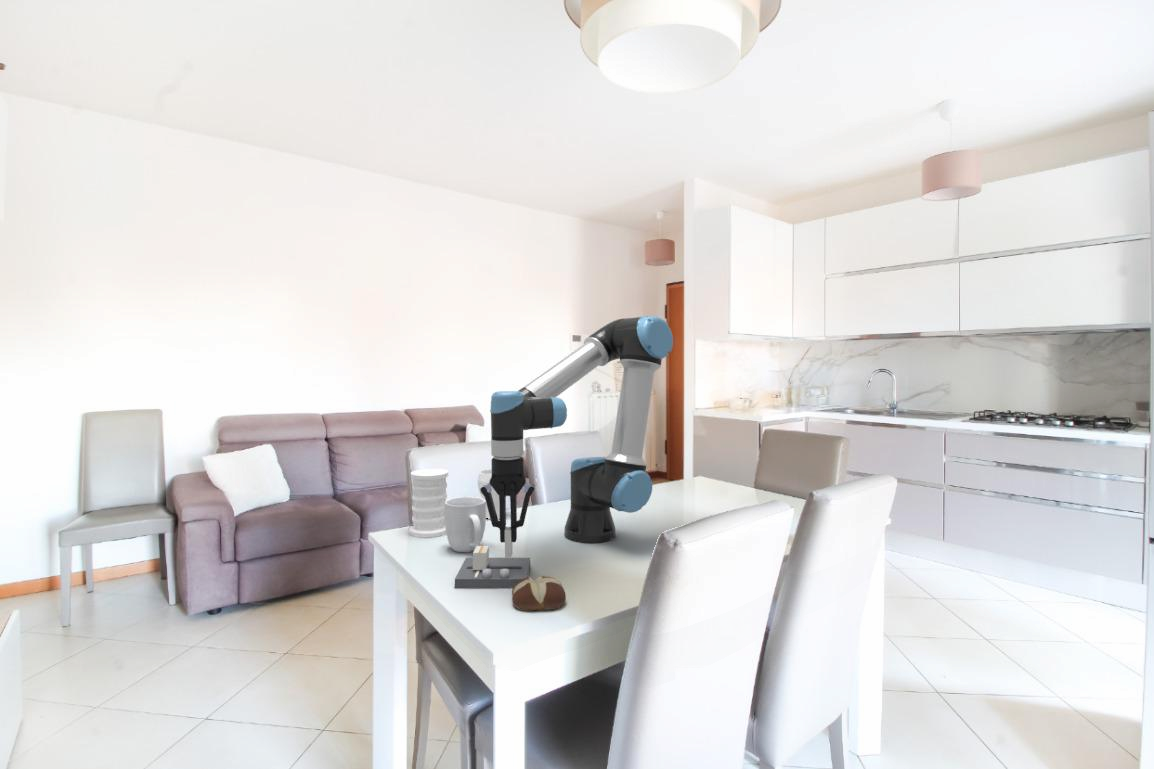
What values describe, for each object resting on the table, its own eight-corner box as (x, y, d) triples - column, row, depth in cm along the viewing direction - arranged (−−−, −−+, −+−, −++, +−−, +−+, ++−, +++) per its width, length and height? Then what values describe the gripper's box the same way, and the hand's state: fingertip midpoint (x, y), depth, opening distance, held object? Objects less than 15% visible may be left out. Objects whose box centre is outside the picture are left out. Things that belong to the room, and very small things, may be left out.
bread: (566, 612, 112) (566, 588, 112) (510, 613, 112) (510, 589, 111) (563, 590, 124) (564, 568, 123) (512, 591, 123) (512, 569, 123)
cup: (473, 520, 178) (473, 473, 178) (483, 511, 189) (484, 468, 188) (504, 521, 177) (504, 475, 176) (513, 513, 187) (514, 469, 187)
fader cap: (488, 562, 133) (488, 545, 133) (485, 570, 128) (485, 552, 128) (476, 562, 133) (476, 545, 133) (472, 569, 128) (472, 552, 128)
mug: (498, 554, 146) (498, 505, 145) (458, 562, 140) (458, 511, 139) (476, 539, 158) (476, 494, 158) (438, 546, 152) (438, 499, 152)
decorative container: (418, 540, 157) (418, 477, 157) (403, 530, 166) (403, 471, 166) (456, 532, 164) (456, 472, 164) (439, 524, 174) (439, 467, 173)
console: (530, 565, 138) (530, 551, 138) (526, 588, 124) (526, 572, 124) (466, 565, 138) (466, 551, 138) (454, 587, 124) (454, 572, 124)
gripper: (536, 453, 134) (537, 549, 135) (482, 454, 134) (483, 550, 135) (534, 459, 126) (535, 560, 127) (477, 459, 126) (478, 561, 127)
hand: (508, 555), depth 131 cm, fingers closed
